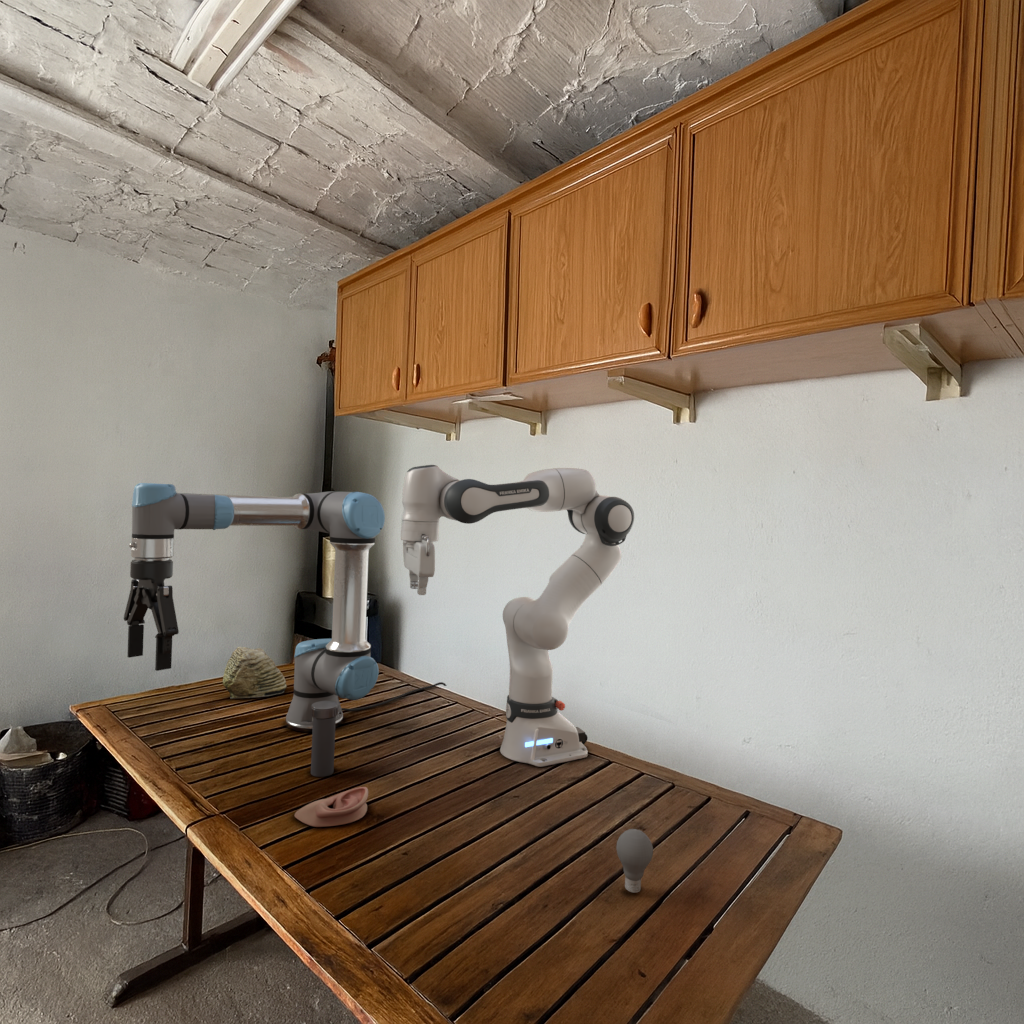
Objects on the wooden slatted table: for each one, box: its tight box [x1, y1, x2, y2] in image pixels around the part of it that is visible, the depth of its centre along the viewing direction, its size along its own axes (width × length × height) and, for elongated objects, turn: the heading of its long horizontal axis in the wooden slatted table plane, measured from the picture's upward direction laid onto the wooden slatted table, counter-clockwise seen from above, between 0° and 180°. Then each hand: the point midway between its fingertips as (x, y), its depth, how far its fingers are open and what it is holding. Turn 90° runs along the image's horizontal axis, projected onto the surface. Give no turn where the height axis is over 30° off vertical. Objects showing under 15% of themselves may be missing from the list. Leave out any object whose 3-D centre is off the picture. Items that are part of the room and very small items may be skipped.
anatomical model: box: [294, 786, 369, 828], centre depth 127 cm, size 13×4×12 cm
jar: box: [310, 716, 336, 778], centre depth 145 cm, size 5×5×15 cm
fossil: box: [222, 646, 288, 699], centre depth 198 cm, size 9×18×15 cm, turn 132°
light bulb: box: [615, 828, 654, 894], centre depth 106 cm, size 6×6×10 cm
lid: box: [311, 701, 338, 719], centre depth 145 cm, size 6×6×2 cm
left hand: (148, 662), depth 129 cm, fingers open, 13 cm apart
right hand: (417, 591), depth 150 cm, fingers open, 8 cm apart
